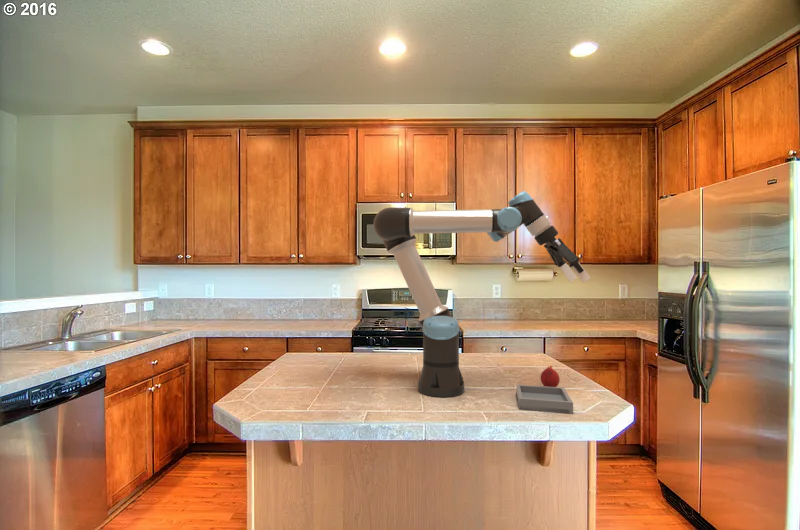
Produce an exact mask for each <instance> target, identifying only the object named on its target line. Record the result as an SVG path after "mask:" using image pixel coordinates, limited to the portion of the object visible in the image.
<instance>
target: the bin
mask: <svg viewBox="0 0 800 530" xmlns="http://www.w3.org/2000/svg"><path fill="white" fill-rule="evenodd" d="M515 385H516V386H515V387H516V390H515V391H516V394H515V395H516V399H517V406H518V410H519V411H520V410H521V411H532V412H534V411H535V412H545V413H546V412H547V413H558V414H559V413H560V414H570V415H573V414H574V402H573V400H572V399H571V397H570V395H569V394H568V392H567V390H566V388H565V387H561V386H559V387H558V386H557V387H546V386H543V385H530V384H529V385H528V384H515Z"/></svg>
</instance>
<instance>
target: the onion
mask: <svg viewBox="0 0 800 530" xmlns="http://www.w3.org/2000/svg"><path fill="white" fill-rule="evenodd" d="M540 382H541V384H542V386H546V387H558V386H559V384H560V382H561V381H560V375H559V374H558V372H557V371H556V370H555V369H553V366H552V365H548V367H546V369H544V370H543V371H542V372H541V374H540Z"/></svg>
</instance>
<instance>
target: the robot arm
mask: <svg viewBox="0 0 800 530" xmlns="http://www.w3.org/2000/svg"><path fill="white" fill-rule="evenodd" d="M508 205H509V206H505V207H503V208H494V209H492V208H491V209H490V208H487V209H486V208H485V209H450V210H449V209H447V210H446V209H445V210H444V209H442V210H441V209H440V210H438V209H437V210H435V209H433V210H415V209H413V208H412V207H393V206H392V207H391V206H389V207H385V208H383V209H380V210H379V212H378V213H376V215H375V217H374V219H373V230H374V232H375V233H376V235H377V236H378V237H379V238H380V239H381V240H382V242H383V244H384V247H385V249H386V251H387V253H389V254H390V255H393V256H394V259H395V262H396V263H397V265H398V267H399V269H400V273H401V274H402V277H403V280H405V283H406V285H407V287H408V290H409V292H410V294H411V296H412V299H413V301H414V304H415V305H416V309H418V311H419V318H418V322H419V325H420V327H421V329H422V369H421V372H420V375H419V378H418V381H417V391H418V392H419V393H420V394H423V395H426V396H430V397H434V398H435V397H437V398H438V397H439V398H449V397H457V396H460V395H462V394H464V393H465V382H464V379H463V374H462V371H461V369H460V361H459V360H460V353H459V352H460V350H459V349H460V341H459V340H460V335H459V334H460V333H459V332H460V325H459V321H458V319H457V318H455V317H453V315H452V314H451V312H450V310H449V307H448V306H446V305H443V304H442V302H441V300H440V298H439V296H438V294H437V291H436V289H435V287H434V284H433V282H432V279H431V278H430V276H429V274H428V271H427V269H426V267H425V265H424V263H423V261H422V258H421V256H420V253H419V252H418V251H419V250H418V249H417V247H416V243H417V237H416V235H415V234H420V235H421V234H467V233H470V234H471V233H473V234H474V233H486V234H487V235H488V236H489V238H490V239H491V240H492V241H493V242H496V243H497V242H500V240H503V239H504V238H505V237H507V236H508V235H510V234H511V233H513V232H515V231H517V230H518V228H520V227H521V226H522V225H523V226H524V227H525V228H526V230H527V231H528V232H529V233H530V235H531V236H532V237H534V240H535V242H537V244H538V245H539V246H543V247H544V248H545V249H546V252H547V253H548V255H549V257H550V258H551V261H553V263H554V265H555V266H556V267H558V268H559V269H560V271H561V272H562V273H563V274H564V276H565V277H566V278H567V279H568V281H569V282H570V283H571V282H573V281H575V280H576V279H578V278H579V279H580V281H581V282H582V283H585V282H587V281H589V280H590V279H591V276H590V275H589V274H588V272H587V271H586V270H585V268H584V267H583V265H582V264H581V263H580V258H579V257H578V256H577V255H576V254H575V252H573V251H572V250H571V249H570V248H569V247H568V246H567V244H565V243H564V241H563V240H562V239H561V238H560V237H559V238H556V236H558V235H559V231H558V230H557V229H556V228H555V226H554V225H551V224H552V223H551V221H550V220H549V216H548V215H547V216H546V215H545V213H544V212H543V211H542V210H541V208H540V207H539V205H538V203H536V201H535V199H534V198H533V197H532V196H531V194H529V193H528V192H527V191H526V190H525V191H524V190H522V191H520V192H519V193H518V194H517V195H515V196H514V197H512V198H511V199H510V200H509V201H508ZM568 264H569V265H568ZM574 272H575V273H574Z"/></svg>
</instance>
